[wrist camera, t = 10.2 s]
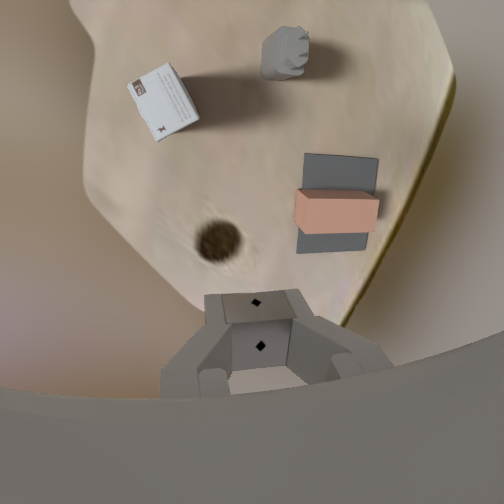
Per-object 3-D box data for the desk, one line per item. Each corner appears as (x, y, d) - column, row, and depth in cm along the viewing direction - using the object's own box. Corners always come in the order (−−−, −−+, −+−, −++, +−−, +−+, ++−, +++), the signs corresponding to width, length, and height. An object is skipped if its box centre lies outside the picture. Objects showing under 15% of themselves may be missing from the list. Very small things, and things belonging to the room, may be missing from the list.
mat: (304, 153, 40) (305, 154, 39) (376, 158, 42) (378, 159, 41) (296, 252, 46) (297, 253, 45) (363, 249, 47) (364, 250, 47)
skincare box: (201, 118, 36) (205, 120, 25) (168, 135, 36) (157, 145, 25) (179, 75, 33) (173, 58, 22) (145, 93, 33) (125, 85, 22)
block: (308, 198, 37) (379, 199, 39) (296, 189, 41) (363, 190, 43) (305, 234, 39) (374, 232, 41) (294, 221, 43) (359, 220, 45)
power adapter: (260, 79, 35) (288, 67, 24) (262, 39, 32) (291, 12, 22) (285, 81, 35) (322, 71, 25) (287, 41, 33) (324, 18, 22)
